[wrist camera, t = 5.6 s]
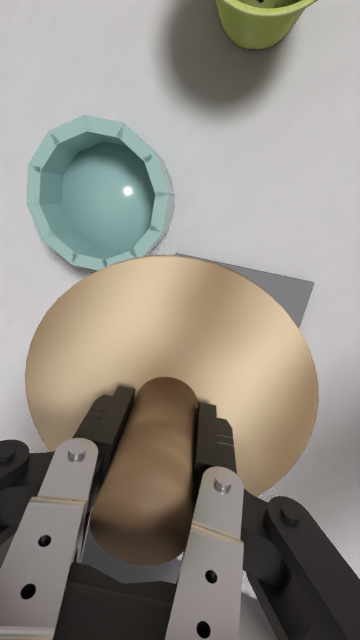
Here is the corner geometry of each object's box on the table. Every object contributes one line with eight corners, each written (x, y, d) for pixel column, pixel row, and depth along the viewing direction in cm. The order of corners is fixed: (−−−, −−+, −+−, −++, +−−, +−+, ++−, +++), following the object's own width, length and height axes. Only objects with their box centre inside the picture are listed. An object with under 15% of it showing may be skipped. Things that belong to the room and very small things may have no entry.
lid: (355, 288, 13) (496, 366, 7) (268, 524, 17) (303, 708, 11) (38, 227, 13) (-118, 245, 7) (30, 473, 18) (-72, 624, 11)
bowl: (185, 146, 28) (179, 134, 23) (162, 271, 32) (153, 282, 27) (60, 121, 28) (30, 104, 24) (52, 248, 32) (24, 254, 27)
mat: (312, 281, 31) (314, 283, 30) (272, 399, 35) (273, 402, 35) (176, 253, 31) (175, 254, 31) (153, 372, 35) (152, 375, 35)
